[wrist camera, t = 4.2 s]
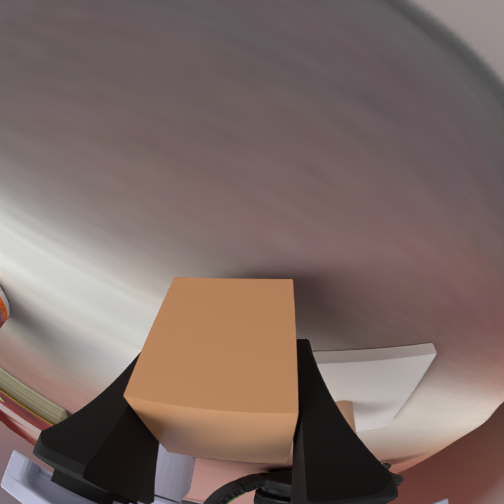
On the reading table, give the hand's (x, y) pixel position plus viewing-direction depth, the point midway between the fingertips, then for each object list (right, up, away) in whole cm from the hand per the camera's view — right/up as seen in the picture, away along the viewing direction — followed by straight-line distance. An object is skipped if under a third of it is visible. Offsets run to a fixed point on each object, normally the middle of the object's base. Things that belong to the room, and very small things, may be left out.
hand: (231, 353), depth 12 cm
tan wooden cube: (0, +1, +2) cm, 2 cm away
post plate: (+8, -7, +9) cm, 14 cm away
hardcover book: (-37, -18, +20) cm, 46 cm away
